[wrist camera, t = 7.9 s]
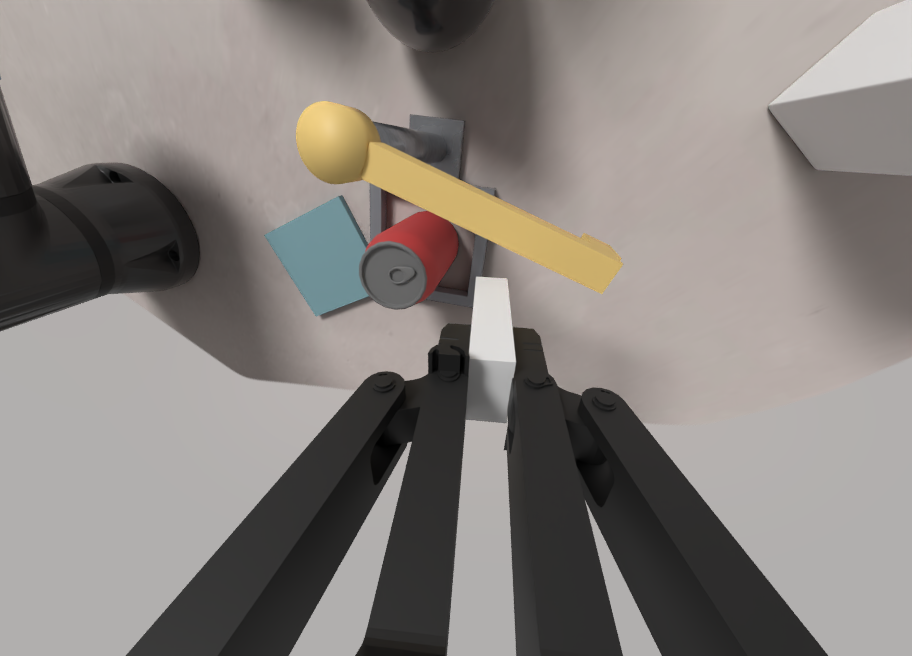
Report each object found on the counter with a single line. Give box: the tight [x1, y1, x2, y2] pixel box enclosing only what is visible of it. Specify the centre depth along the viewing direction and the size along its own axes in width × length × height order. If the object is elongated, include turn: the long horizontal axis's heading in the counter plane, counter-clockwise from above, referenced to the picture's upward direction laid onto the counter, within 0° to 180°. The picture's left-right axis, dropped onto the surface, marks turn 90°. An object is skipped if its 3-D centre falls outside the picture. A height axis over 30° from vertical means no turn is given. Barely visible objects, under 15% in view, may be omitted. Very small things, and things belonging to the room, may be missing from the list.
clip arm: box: [296, 101, 623, 294], centre depth 17 cm, size 16×3×4 cm, turn 67°
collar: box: [370, 183, 495, 308], centre depth 36 cm, size 12×12×2 cm
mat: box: [264, 196, 369, 316], centre depth 40 cm, size 11×11×1 cm
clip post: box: [373, 115, 465, 179], centre depth 25 cm, size 5×5×18 cm
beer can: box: [359, 211, 459, 309], centre depth 32 cm, size 7×7×12 cm
